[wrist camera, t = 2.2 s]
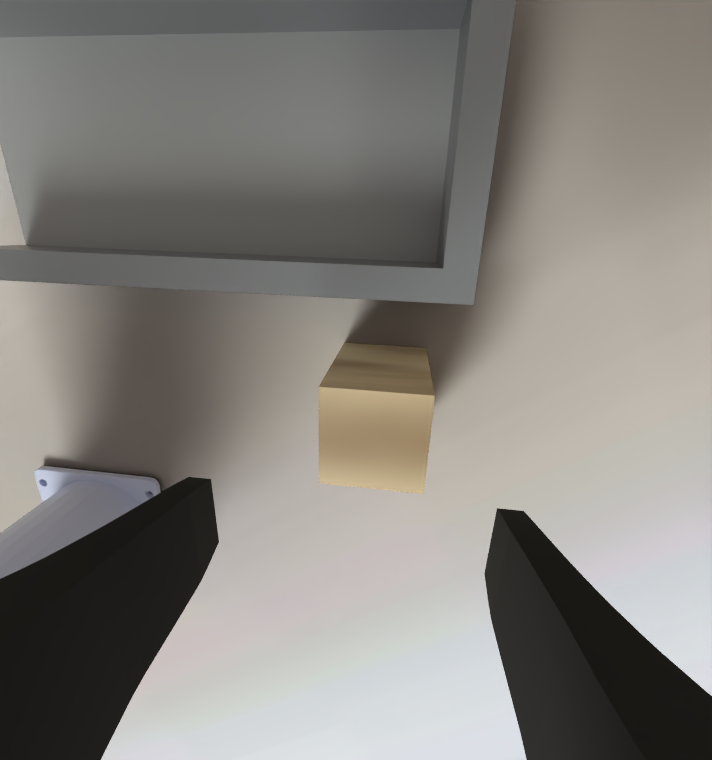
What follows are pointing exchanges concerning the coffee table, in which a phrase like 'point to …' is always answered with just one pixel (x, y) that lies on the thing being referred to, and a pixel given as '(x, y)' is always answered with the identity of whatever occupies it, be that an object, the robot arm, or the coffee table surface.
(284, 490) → the coffee table surface
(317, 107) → the tray
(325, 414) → the block
